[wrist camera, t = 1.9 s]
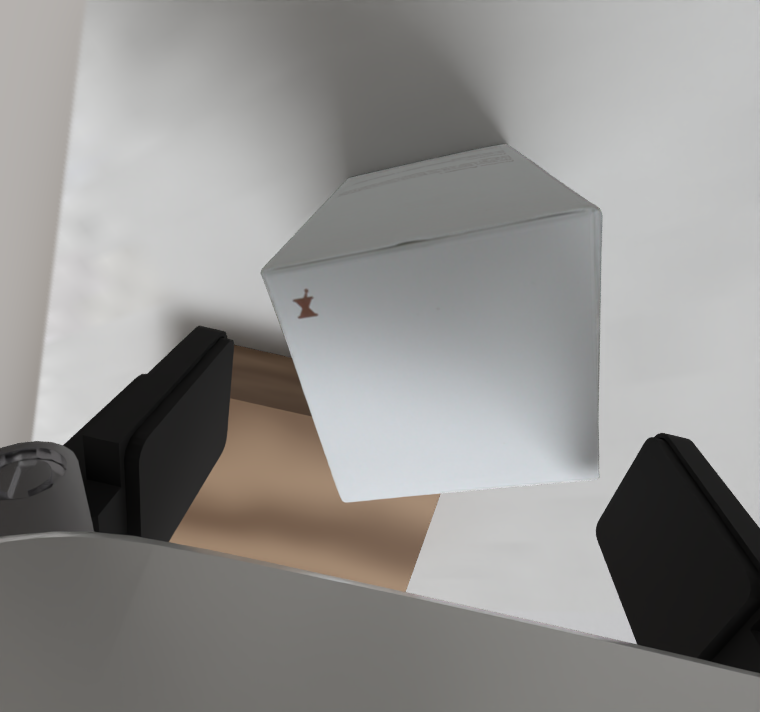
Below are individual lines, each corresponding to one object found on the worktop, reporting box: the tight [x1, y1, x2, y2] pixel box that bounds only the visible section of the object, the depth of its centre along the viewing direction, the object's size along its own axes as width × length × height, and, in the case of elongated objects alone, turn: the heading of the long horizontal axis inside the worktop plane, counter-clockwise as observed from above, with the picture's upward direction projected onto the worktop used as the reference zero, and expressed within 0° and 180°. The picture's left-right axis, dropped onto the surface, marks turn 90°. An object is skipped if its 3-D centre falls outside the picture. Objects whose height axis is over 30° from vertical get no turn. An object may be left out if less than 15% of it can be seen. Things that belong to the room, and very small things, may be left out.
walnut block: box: [169, 345, 440, 592], centre depth 28 cm, size 14×14×5 cm
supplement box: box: [261, 144, 602, 502], centre depth 17 cm, size 7×7×13 cm
